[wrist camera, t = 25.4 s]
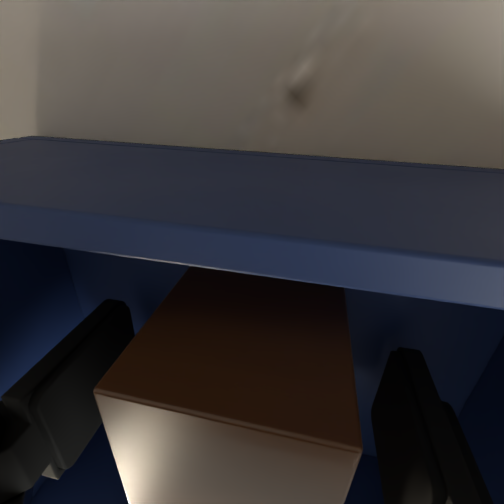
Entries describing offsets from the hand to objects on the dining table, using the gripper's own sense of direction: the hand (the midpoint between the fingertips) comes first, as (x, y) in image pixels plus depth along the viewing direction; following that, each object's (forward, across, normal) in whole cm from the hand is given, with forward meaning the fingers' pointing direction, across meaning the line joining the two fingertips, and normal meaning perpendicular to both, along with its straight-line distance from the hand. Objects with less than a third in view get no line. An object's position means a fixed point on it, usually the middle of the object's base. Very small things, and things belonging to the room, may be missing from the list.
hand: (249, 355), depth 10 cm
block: (+1, 0, 0) cm, 1 cm away
